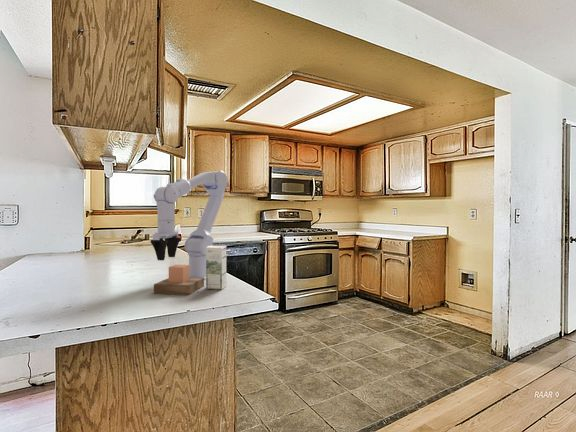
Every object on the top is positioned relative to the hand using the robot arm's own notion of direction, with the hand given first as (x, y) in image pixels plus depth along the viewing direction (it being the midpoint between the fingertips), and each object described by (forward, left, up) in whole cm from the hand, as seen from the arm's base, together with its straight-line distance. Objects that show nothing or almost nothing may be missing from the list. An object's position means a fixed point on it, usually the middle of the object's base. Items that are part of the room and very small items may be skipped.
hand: (166, 258), depth 119 cm
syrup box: (+2, +19, -10) cm, 21 cm away
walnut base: (+6, +8, -9) cm, 14 cm away
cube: (+6, +8, -6) cm, 12 cm away
